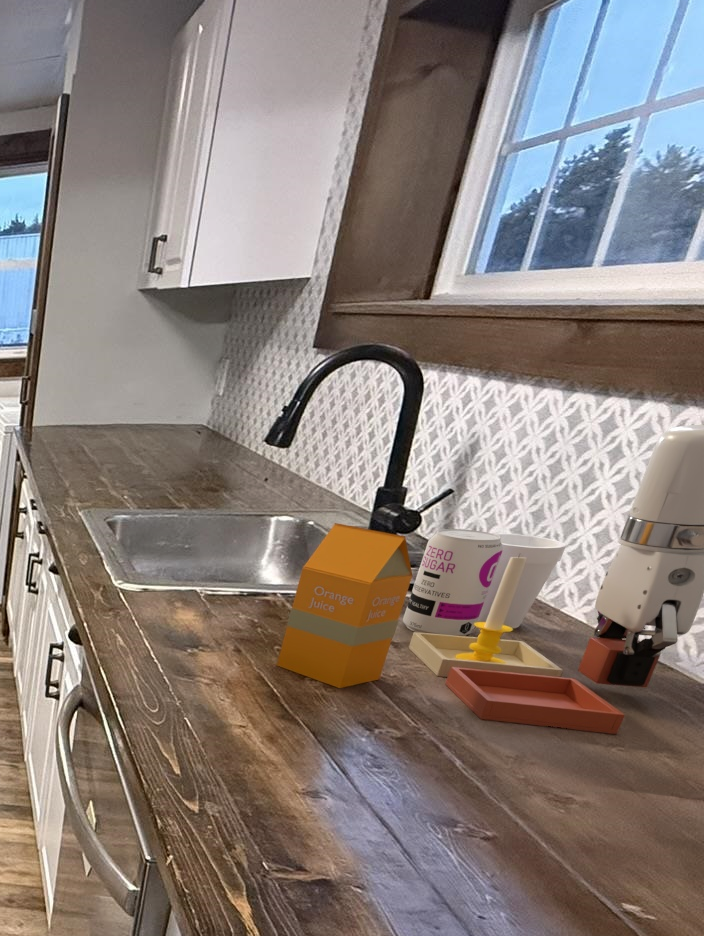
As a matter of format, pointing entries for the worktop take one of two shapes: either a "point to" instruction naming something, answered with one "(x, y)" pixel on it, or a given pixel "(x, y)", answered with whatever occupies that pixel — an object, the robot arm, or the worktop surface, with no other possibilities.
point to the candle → (496, 616)
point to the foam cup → (523, 573)
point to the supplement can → (453, 582)
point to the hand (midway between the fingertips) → (612, 674)
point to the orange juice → (347, 606)
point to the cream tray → (444, 648)
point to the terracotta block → (605, 660)
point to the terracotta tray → (533, 700)
